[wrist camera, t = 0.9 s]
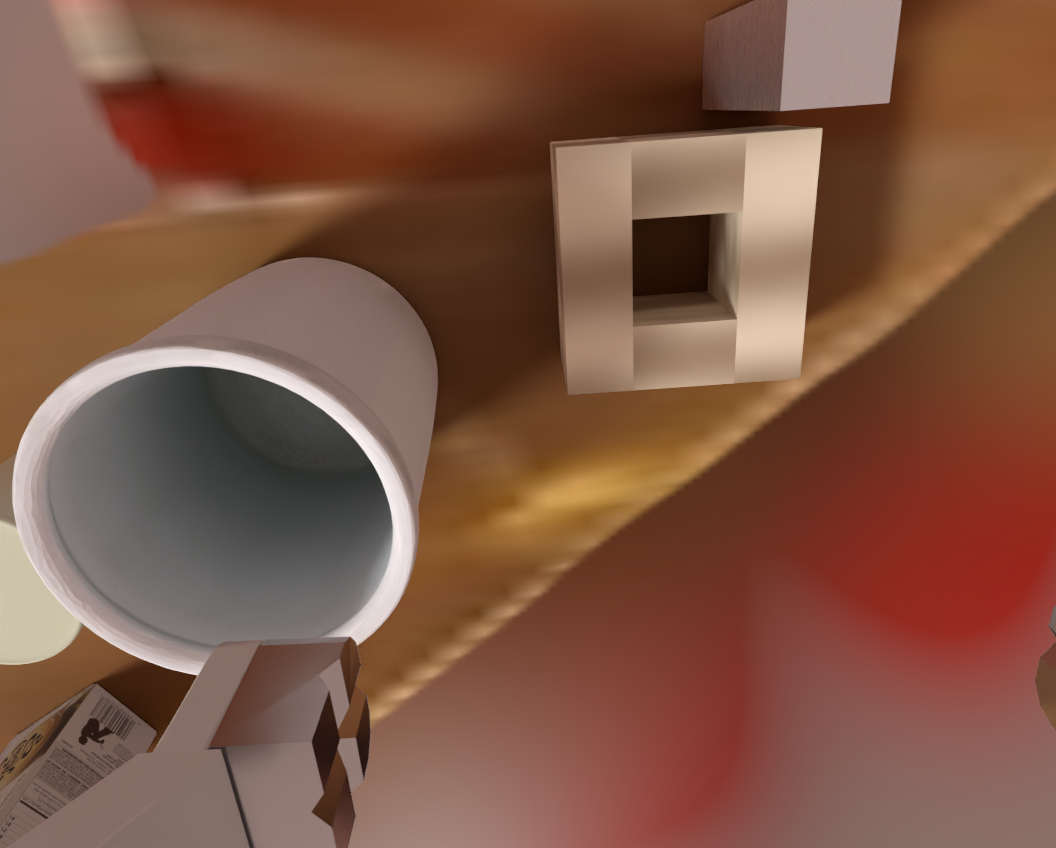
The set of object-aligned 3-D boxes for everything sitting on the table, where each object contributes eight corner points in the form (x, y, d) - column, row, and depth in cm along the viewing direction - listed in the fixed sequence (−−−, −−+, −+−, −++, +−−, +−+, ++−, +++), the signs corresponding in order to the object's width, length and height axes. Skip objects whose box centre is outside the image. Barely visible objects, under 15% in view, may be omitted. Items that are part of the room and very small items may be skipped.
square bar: (704, 22, 36) (788, -16, 25) (784, 16, 36) (905, -24, 25) (701, 109, 37) (780, 111, 26) (778, 104, 37) (889, 103, 26)
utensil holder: (490, 435, 45) (477, 618, 29) (279, 514, 47) (157, 726, 31) (383, 207, 39) (294, 277, 23) (149, 308, 41) (-84, 437, 25)
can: (150, 402, 43) (28, 502, 32) (203, 530, 47) (109, 659, 36) (5, 426, 44) (-164, 532, 33) (69, 551, 48) (-64, 685, 37)
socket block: (549, 141, 38) (555, 147, 32) (777, 124, 38) (822, 128, 32) (560, 357, 43) (568, 394, 37) (762, 343, 43) (800, 378, 37)
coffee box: (80, 783, 56) (-74, 1025, 41) (12, 734, 54) (-176, 971, 39) (162, 732, 54) (31, 966, 39) (95, 678, 52) (-71, 906, 37)
